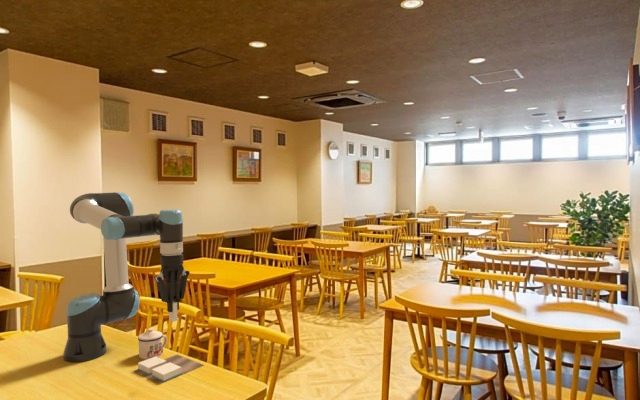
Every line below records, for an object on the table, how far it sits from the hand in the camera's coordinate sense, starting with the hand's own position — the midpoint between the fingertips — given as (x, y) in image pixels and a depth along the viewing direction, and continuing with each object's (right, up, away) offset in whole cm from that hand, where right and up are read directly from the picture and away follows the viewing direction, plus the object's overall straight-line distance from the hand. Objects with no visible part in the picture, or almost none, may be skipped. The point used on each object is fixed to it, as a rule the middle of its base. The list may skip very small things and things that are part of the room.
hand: (173, 320), depth 149 cm
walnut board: (-3, -20, +4) cm, 20 cm away
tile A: (-7, -17, +6) cm, 19 cm away
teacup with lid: (-14, -20, +18) cm, 30 cm away
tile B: (0, -17, +1) cm, 17 cm away
